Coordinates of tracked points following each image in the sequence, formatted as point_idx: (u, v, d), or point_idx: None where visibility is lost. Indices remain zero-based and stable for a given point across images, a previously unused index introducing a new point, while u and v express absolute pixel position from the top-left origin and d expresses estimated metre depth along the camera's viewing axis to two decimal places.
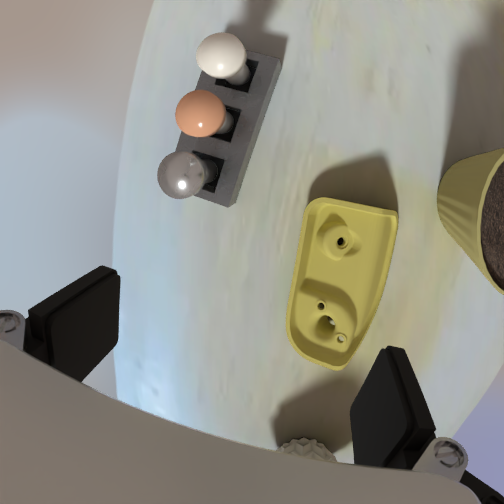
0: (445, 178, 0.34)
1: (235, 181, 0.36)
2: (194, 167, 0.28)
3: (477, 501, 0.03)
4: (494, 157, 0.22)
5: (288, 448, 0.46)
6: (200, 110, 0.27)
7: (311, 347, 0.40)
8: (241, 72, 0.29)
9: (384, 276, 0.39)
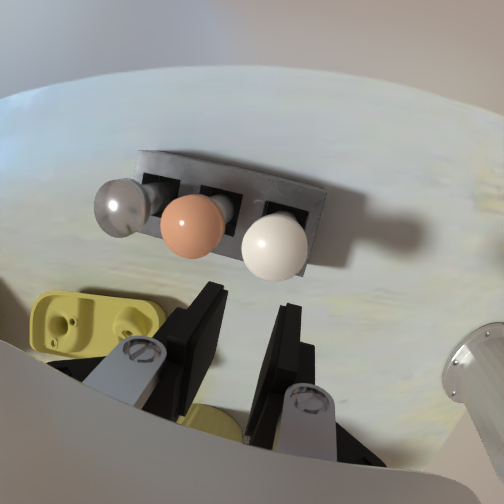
0: (213, 414, 0.40)
1: (153, 235, 0.31)
2: (127, 228, 0.23)
3: (477, 501, 0.03)
4: None
5: None
6: (192, 230, 0.22)
7: (41, 316, 0.37)
8: None
9: None
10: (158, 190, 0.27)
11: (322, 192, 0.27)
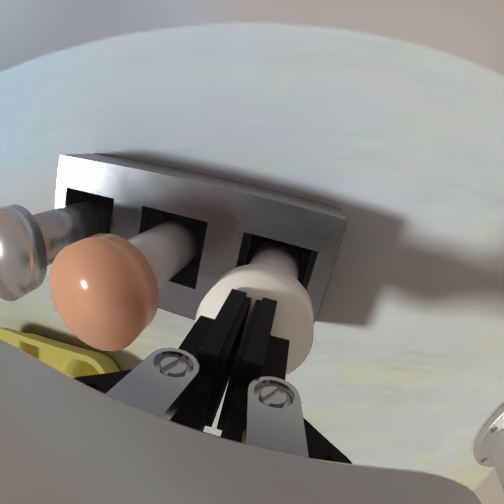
0: None
1: None
2: (13, 288, 0.12)
3: (477, 501, 0.03)
4: None
5: None
6: (96, 305, 0.11)
7: None
8: None
9: None
10: (75, 217, 0.16)
11: (340, 220, 0.16)
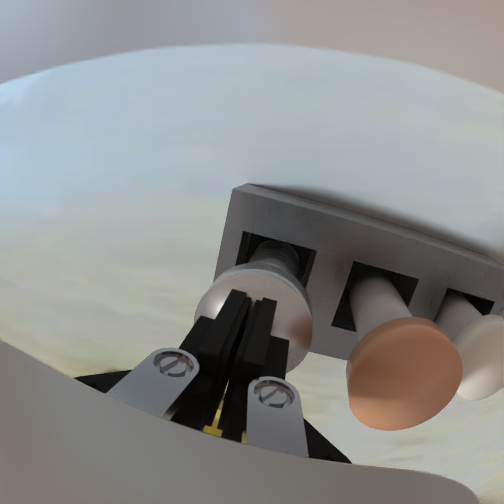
0: None
1: None
2: None
3: (477, 501, 0.03)
4: None
5: None
6: (412, 393, 0.10)
7: None
8: None
9: None
10: (291, 268, 0.16)
11: None
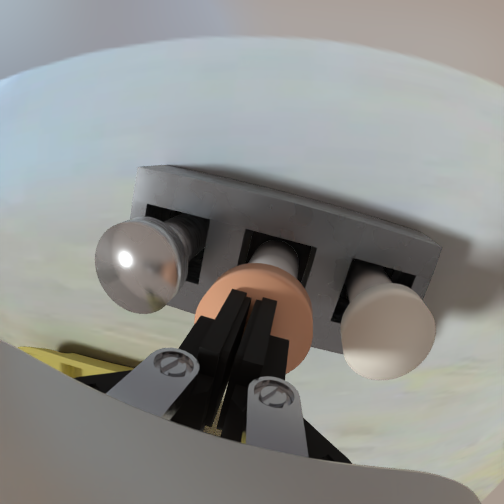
0: None
1: None
2: (151, 301, 0.14)
3: (477, 501, 0.03)
4: None
5: None
6: None
7: None
8: None
9: None
10: (192, 229, 0.19)
11: (436, 247, 0.16)
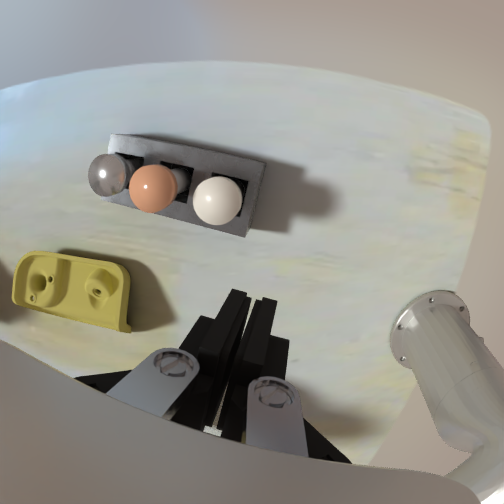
0: None
1: (122, 204, 0.36)
2: (112, 189, 0.30)
3: (477, 501, 0.03)
4: None
5: None
6: (152, 191, 0.28)
7: (23, 273, 0.41)
8: None
9: (86, 321, 0.46)
10: (136, 163, 0.34)
11: (259, 164, 0.32)
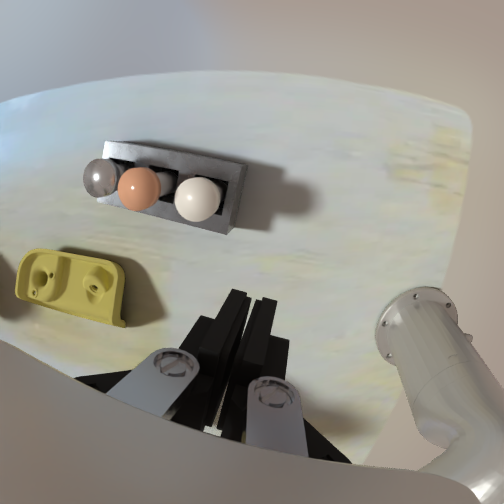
0: None
1: (115, 205, 0.38)
2: (104, 190, 0.33)
3: (477, 501, 0.03)
4: None
5: None
6: (137, 191, 0.31)
7: (27, 269, 0.44)
8: None
9: (84, 316, 0.48)
10: (128, 168, 0.37)
11: (238, 166, 0.35)
